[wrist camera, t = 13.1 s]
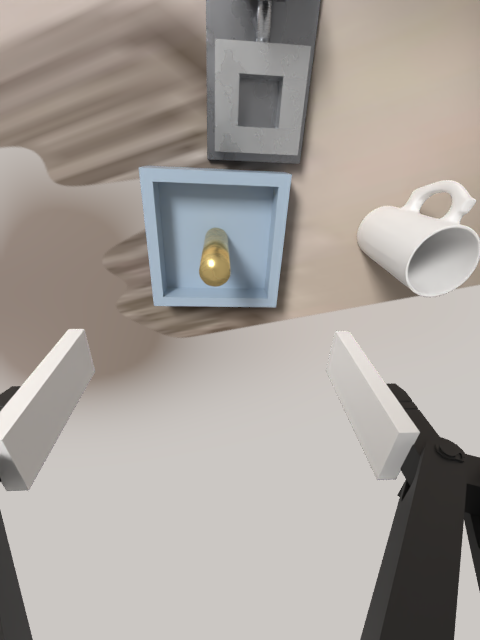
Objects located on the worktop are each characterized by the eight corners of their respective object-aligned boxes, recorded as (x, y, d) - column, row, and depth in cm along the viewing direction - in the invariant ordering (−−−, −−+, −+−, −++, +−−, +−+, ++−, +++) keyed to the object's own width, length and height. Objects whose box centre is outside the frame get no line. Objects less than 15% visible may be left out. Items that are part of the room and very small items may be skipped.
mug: (389, 263, 40) (449, 304, 29) (344, 249, 38) (391, 287, 28) (434, 184, 35) (525, 199, 25) (385, 165, 34) (459, 173, 23)
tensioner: (205, -83, 24) (199, -186, 16) (327, -70, 24) (374, -163, 17) (207, 159, 32) (204, 162, 25) (298, 163, 33) (320, 167, 26)
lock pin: (204, 227, 35) (198, 256, 26) (228, 228, 35) (231, 257, 26) (204, 250, 37) (199, 286, 27) (227, 251, 37) (230, 286, 27)
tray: (146, 165, 32) (138, 167, 29) (284, 171, 33) (291, 174, 30) (159, 293, 40) (154, 305, 37) (271, 295, 41) (275, 307, 38)
